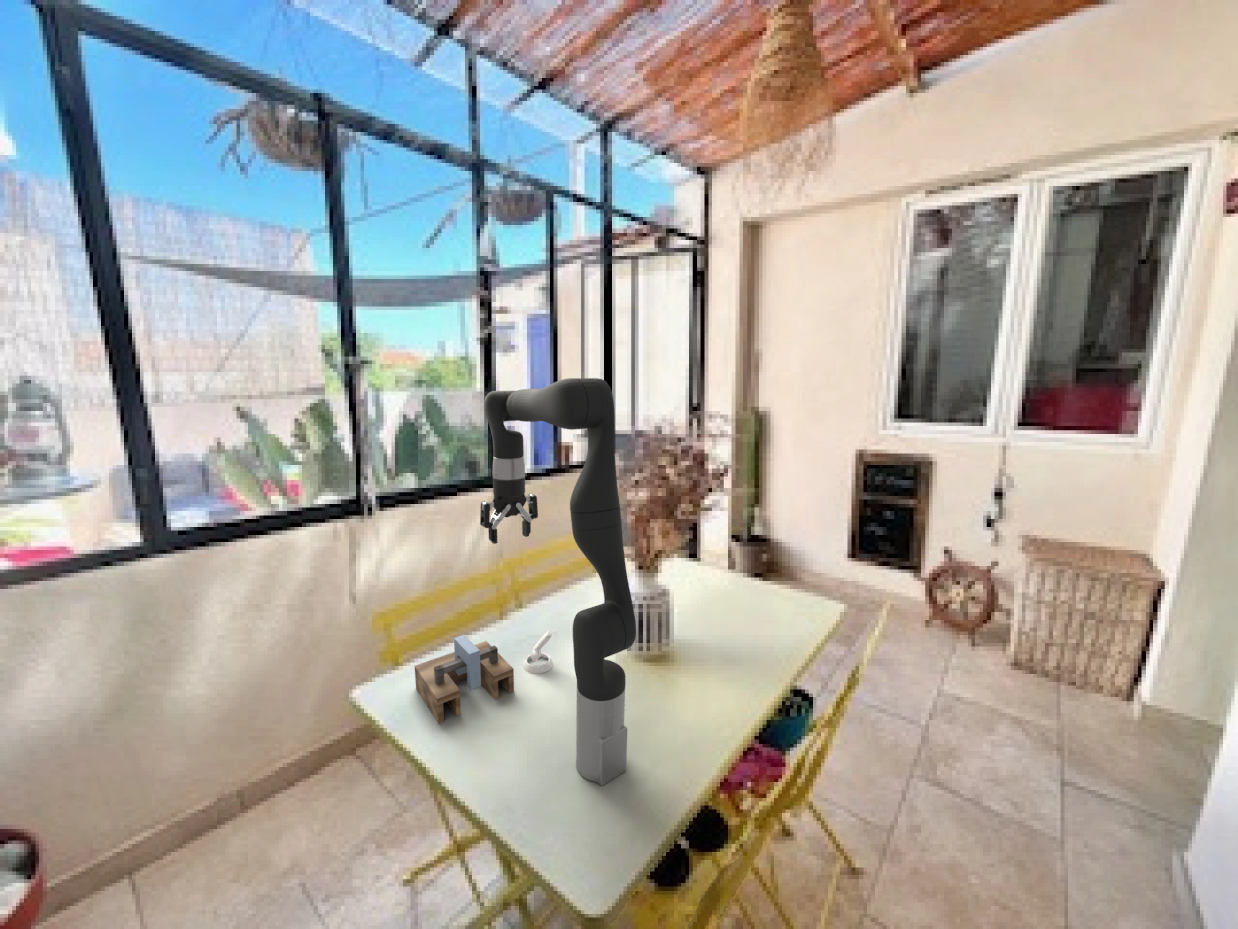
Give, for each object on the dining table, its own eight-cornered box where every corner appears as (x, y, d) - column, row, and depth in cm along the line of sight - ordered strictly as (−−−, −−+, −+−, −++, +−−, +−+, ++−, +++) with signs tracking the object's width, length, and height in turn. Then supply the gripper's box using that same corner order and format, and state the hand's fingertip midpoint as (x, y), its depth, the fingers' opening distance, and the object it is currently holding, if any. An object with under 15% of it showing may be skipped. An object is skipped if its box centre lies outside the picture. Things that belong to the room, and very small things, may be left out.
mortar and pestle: (569, 656, 126) (546, 645, 123) (542, 686, 129) (519, 676, 127) (569, 635, 132) (547, 623, 130) (543, 664, 136) (521, 653, 133)
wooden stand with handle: (513, 691, 120) (513, 655, 118) (438, 723, 109) (436, 684, 107) (486, 661, 131) (485, 628, 129) (416, 688, 120) (413, 652, 118)
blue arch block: (481, 685, 115) (479, 650, 113) (470, 690, 114) (469, 654, 112) (465, 668, 121) (464, 634, 120) (455, 672, 120) (453, 638, 118)
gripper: (487, 481, 113) (489, 550, 116) (543, 474, 122) (543, 537, 125) (474, 475, 119) (476, 540, 122) (527, 468, 128) (528, 529, 131)
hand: (510, 539), depth 124 cm, fingers open, 8 cm apart
